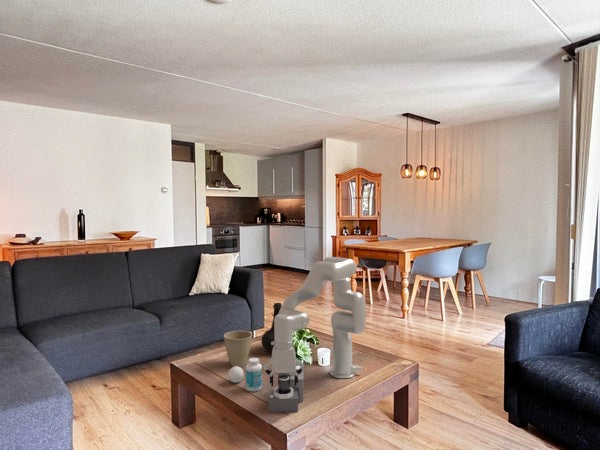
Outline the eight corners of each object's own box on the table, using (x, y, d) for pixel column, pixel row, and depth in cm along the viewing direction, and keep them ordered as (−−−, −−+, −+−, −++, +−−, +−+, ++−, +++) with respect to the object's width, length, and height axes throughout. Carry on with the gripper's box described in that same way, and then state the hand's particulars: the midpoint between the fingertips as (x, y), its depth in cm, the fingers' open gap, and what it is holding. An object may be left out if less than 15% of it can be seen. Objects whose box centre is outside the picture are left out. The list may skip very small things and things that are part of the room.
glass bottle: (256, 353, 221) (255, 305, 220) (270, 343, 237) (270, 298, 236) (284, 358, 214) (284, 308, 213) (297, 347, 230) (297, 301, 229)
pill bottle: (255, 393, 173) (255, 364, 173) (242, 389, 177) (242, 360, 177) (265, 387, 180) (265, 358, 179) (252, 383, 183) (252, 355, 183)
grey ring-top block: (297, 401, 166) (297, 385, 166) (298, 411, 158) (298, 394, 158) (269, 402, 166) (269, 386, 165) (268, 412, 158) (268, 395, 157)
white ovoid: (247, 382, 185) (246, 367, 184) (233, 386, 180) (233, 371, 180) (235, 375, 192) (235, 360, 192) (222, 379, 187) (222, 364, 187)
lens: (290, 396, 159) (290, 377, 159) (277, 396, 159) (277, 377, 159) (290, 390, 164) (290, 372, 164) (278, 390, 164) (278, 372, 164)
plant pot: (250, 370, 198) (249, 339, 198) (221, 369, 199) (221, 339, 198) (254, 358, 213) (254, 330, 213) (227, 358, 214) (227, 330, 213)
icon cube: (279, 401, 166) (279, 379, 166) (281, 390, 176) (281, 369, 176) (303, 402, 166) (303, 379, 165) (303, 391, 176) (303, 369, 175)
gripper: (262, 347, 157) (262, 389, 158) (304, 347, 157) (304, 388, 158) (263, 341, 164) (263, 380, 165) (304, 340, 165) (304, 380, 165)
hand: (283, 384), depth 161 cm, fingers open, 9 cm apart
